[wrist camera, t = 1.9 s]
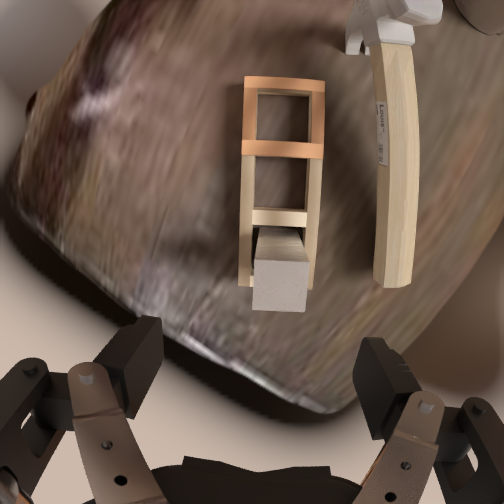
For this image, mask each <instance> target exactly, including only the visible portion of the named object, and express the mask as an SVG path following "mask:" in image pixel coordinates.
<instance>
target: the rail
mask: <svg viewBox="0 0 504 504" xmlns="http://www.w3.org/2000/svg"><path fill="white" fill-rule="evenodd" d="M258 94H268V95H288V96H302V97H309V120H308V143H301V142H286V141H266V140H256V134H257V107H258ZM324 116H325V81H320V80H310V79H298V78H284V77H259V76H245V80H244V104H243V129H242V165H241V196H240V232H239V273H238V286H249V287H253V283H254V268H252V243H253V225H274V226H293V227H303V237H302V244H303V246H304V249H305V251H306V254H307V256H308V259H309V261H310V268H309V278H308V287H307V289H312V287H313V278H314V268H315V258H316V247H317V236H318V224H319V211H320V197H321V180H322V161H323V149H324ZM256 156H264V157H284V158H300V159H307V173H306V192H305V208H304V209H291V208H272V207H254V189H255V161H256Z"/></svg>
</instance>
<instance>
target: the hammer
mask: <svg viewBox="0 0 504 504" xmlns="http://www.w3.org/2000/svg"><path fill="white" fill-rule="evenodd" d="M442 10H443V4H442V0H356V1H355V2H354V5H353V9H352V12H351V14H350V16H349V18H348V20H347V25H346V32H345V54H354V55H359V50H360V45H361V42H362V40H364V45H365V55H370V58H371V65H372V71H373V79H374V90H375V103H376V120H377V219H376V237H375V251H374V263H373V279H374V280H375V281H377V282H378V283H379V284H380V285H381V286H383V287H384V288H399V287H402V286H405V285H408V284H410V283H411V275H412V267H413V257H414V246H415V233H416V221H417V208H418V191H419V123H418V108H417V96H416V86H415V77H414V66H413V57H412V50H411V46H410V45H413V44H414V43H415V38H414V33H413V27H412V25H413V26H414V25H436V24H437V23H439V21H440V20H441V17H442Z"/></svg>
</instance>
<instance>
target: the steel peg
mask: <svg viewBox="0 0 504 504" xmlns="http://www.w3.org/2000/svg"><path fill="white" fill-rule="evenodd" d="M309 268H310V261H309V259H308V256H307V254H306V251H305V249H304V246H303V244H302V242H301V239H300V237H299V234H298V232H297V230H296V229H285V228H265V227H260V230H259V236H258V242H257V247H256V253H255V259H254V283H253V308H252V310H267V311H289V312H305V305H306V296H307V287H308V278H309Z"/></svg>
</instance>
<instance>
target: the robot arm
mask: <svg viewBox="0 0 504 504" xmlns="http://www.w3.org/2000/svg"><path fill="white" fill-rule="evenodd" d="M454 1H455V4H456V5H457V7H458V9H459V10H460V12H461V13H462V15H463V16H464V17H465V18H466V19H467V20H468V22H469V23H470V24H472V25H473V26H474V27H475V28H476V29H478V30H479V31H481V32H483V33H485V34H488V35H494V34H496V33H497V34H499V35H503V34H504V0H454ZM163 353H164V350H163V332H162V320H161V318H159V317H152V316H146V315H142V316H141V317H140V318H139V319H138V320H137V322H136V323H135V324H134V325H127V326H125V327H123V328H122V329H120V330H118V332H117V333H116V334H115V335H114V336H113V338H112V339H111V340H110V341H109V343H108V344H107V345H106V346H105V347H104V348H103V350H102V351H101V352H100V353H99V354H98V356H97V357H96V358H95V359H94V360H93V362H83V363H79V364H77V365H75V366H73V367H72V368H71V369H70V370H69V372H68V373H56V372H49V370H48V367H47V364H46V363H45V362H44V361H43V360H41V359H39V358H26V359H23V360H21V361H19V362H18V363H17V364H15V366H14V367H13V368H12V369H11V370H10V371H9V372H8V373H7V374H6V375H5V376H4V377H3V378H2V379H1V380H0V504H34V503H33V500H32V499H31V495H32V493H33V491H34V489H35V487H36V485H37V483H38V481H39V479H40V477H41V476H42V474H43V472H44V470H45V468H46V466H47V464H48V462H49V461H50V459H51V457H52V455H53V453H54V451H55V450H56V448H57V446H58V444H59V442H60V441H61V439H62V437H63V435H64V434H65V432H66V431H75V435H76V439H77V443H78V447H79V451H80V455H81V458H82V462H83V465H84V468H85V472H86V475H87V478H88V481H89V484H90V487H91V490H92V493H93V496H94V499H92V500H89V501H87V502H85V503H83V504H418V503H419V500H420V498H421V496H422V493H423V491H424V488H425V486H426V483H427V480H428V478H429V475H430V472H431V470H432V467H434V470H435V473H436V476H437V478H438V481H439V484H440V487H441V490H442V493H443V496H444V499H445V502H446V504H504V424H503V423H502V421H501V419H500V418H499V416H498V415H497V413H496V412H495V410H494V409H493V407H492V406H491V405H490V404H489V403H488V402H487V401H485V400H484V399H481V398H478V397H470V398H468V399H466V400H465V402H464V403H463V405H462V407H461V408H455V407H446V406H444V403H443V401H442V400H441V399H440V398H439V397H438V396H437V395H435V394H433V393H430V392H427V391H423V390H422V389H421V387H420V385H419V384H418V382H417V380H416V379H415V377H414V376H413V374H412V372H410V369H409V367H408V366H406V363H405V361H404V359H403V358H402V356H401V355H399V354H398V353H397V352H395V351H394V350H393V349H389V347H388V346H387V344H386V342H385V341H384V339H383V338H378V337H365V338H364V339H363V340H362V342H361V346H360V349H359V352H358V356H357V359H356V362H355V365H354V369H353V376H352V377H353V384H354V387H355V390H356V392H357V395H358V398H359V401H360V404H361V407H362V409H363V412H364V415H365V418H366V421H367V425H368V428H369V431H370V433H371V437H372V440H380V439H384V441H385V444H384V446H383V447H382V449H381V451H380V453H379V454H378V456H377V458H376V459H375V461H374V463H373V465H372V466H371V468H370V470H369V471H368V473H367V474H366V476H365V478H364V479H363V481H362V482H361V484H360V485H358V484H356V483H354V482H352V481H350V480H347V479H344V478H341V477H337V476H332V475H331V472H330V467H329V466H318V467H317V466H315V467H291V468H285V469H280V470H273V471H267V472H253V471H249V470H246V469H243V468H239V467H236V466H233V465H230V464H226V463H223V462H220V461H213V460H207V459H200V458H194V457H188V456H184V459H183V463H182V465H171V466H164V467H159V468H156V469H152V470H150V469H149V467H148V465H147V463H146V461H145V459H144V457H143V455H142V453H141V451H140V449H139V446H138V444H137V442H136V440H135V438H134V435H133V433H132V431H131V429H130V426H129V424H128V422H127V419H126V418H130V419H134V418H135V416H136V414H137V412H138V410H139V408H140V406H141V404H142V402H143V399H144V398H145V396H146V394H147V392H148V390H149V388H150V386H151V384H152V382H153V380H154V378H155V376H156V374H157V372H158V370H159V368H160V366H161V364H162V360H163ZM29 413H31V416H30V418H29V419H28V420H27V422H26V423H25V425H24V426H23V428H22V429H21V425H22V422H23V421H24V419H25V418H26V417H27V415H28V414H29ZM471 448H472V449H473V451H474V453H475V455H476V457H477V459H478V468H477V470H476V472H475V470H474V468H473V466H472V464H471V462H470V459H469V457H468V455H467V453H468V452H469V450H470V449H471Z"/></svg>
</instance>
